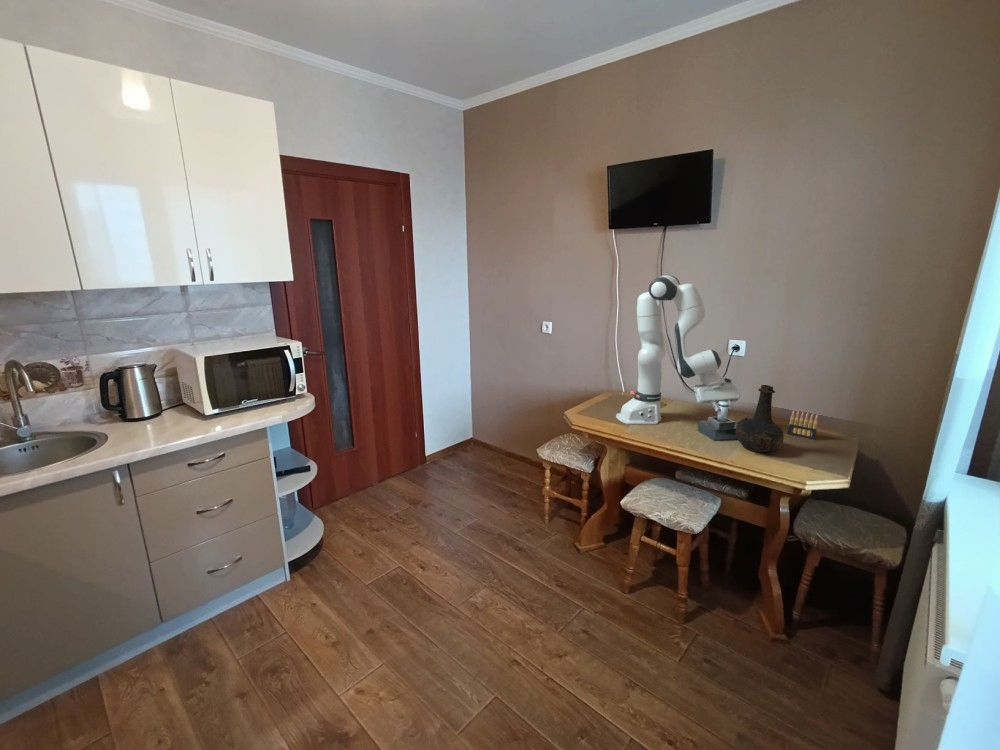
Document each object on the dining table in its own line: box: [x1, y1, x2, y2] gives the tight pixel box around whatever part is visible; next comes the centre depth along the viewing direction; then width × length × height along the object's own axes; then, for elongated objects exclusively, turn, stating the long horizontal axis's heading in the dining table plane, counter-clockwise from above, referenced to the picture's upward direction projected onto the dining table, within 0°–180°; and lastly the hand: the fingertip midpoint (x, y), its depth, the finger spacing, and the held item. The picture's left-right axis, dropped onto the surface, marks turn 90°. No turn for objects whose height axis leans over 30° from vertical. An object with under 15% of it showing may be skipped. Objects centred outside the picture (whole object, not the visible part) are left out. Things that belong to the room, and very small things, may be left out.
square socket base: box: [697, 416, 738, 442], centre depth 201 cm, size 14×12×8 cm
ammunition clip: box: [786, 409, 819, 441], centre depth 198 cm, size 11×2×12 cm, turn 49°
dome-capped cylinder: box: [716, 401, 729, 422], centre depth 199 cm, size 4×4×9 cm
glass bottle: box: [735, 384, 785, 453], centre depth 184 cm, size 18×18×28 cm
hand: (723, 410), depth 199 cm, fingers closed on dome-capped cylinder, 4 cm apart
